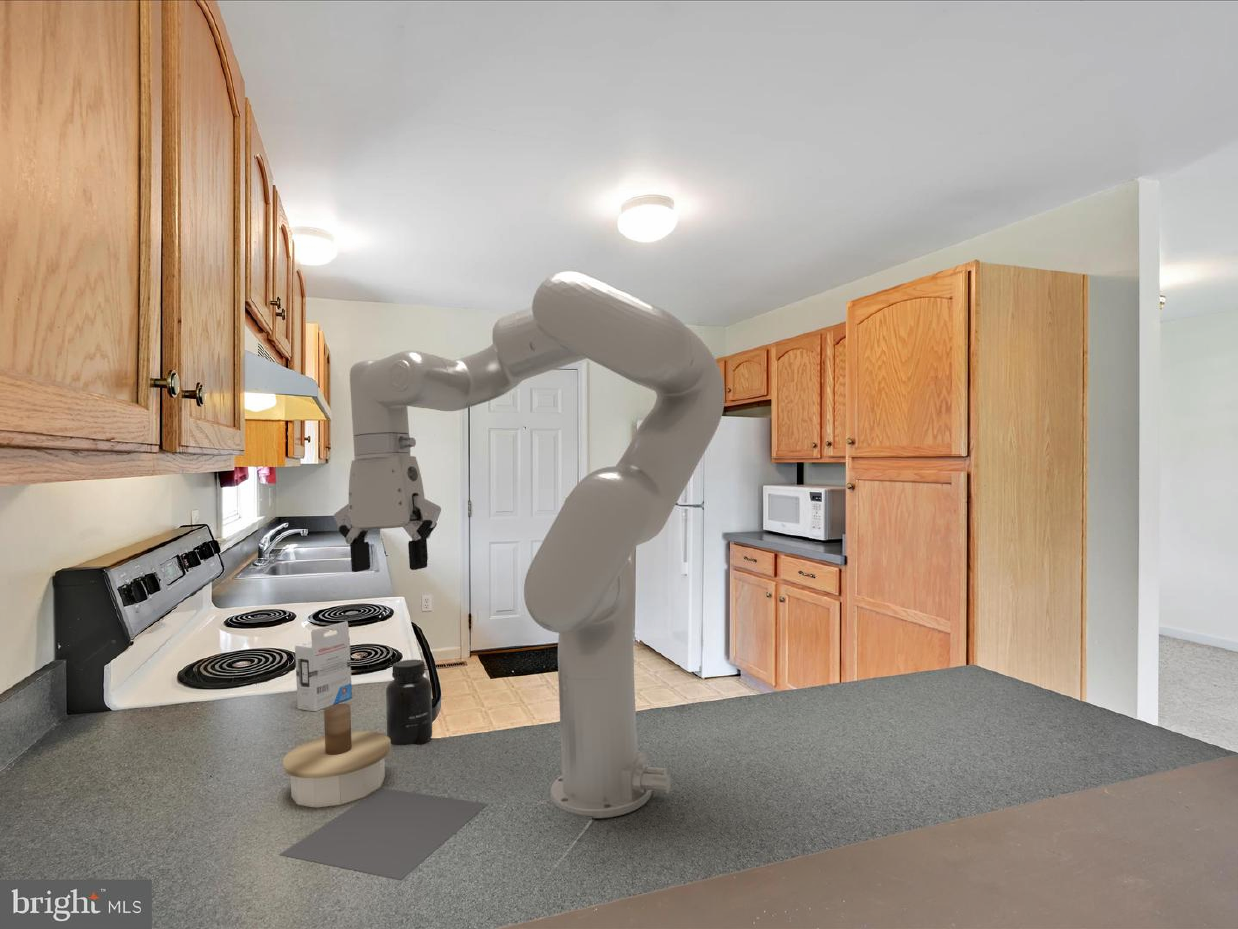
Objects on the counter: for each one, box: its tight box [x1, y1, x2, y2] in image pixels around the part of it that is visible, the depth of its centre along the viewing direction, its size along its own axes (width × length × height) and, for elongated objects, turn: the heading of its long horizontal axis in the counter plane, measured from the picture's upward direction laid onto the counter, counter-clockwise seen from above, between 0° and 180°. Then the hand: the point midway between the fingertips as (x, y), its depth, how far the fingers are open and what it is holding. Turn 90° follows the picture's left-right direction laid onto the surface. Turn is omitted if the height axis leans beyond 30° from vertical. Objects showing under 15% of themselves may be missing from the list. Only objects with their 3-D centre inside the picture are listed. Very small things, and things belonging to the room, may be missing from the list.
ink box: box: [294, 620, 353, 712], centre depth 124 cm, size 8×5×15 cm, turn 152°
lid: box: [283, 703, 392, 778], centre depth 88 cm, size 13×13×6 cm
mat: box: [278, 787, 489, 881], centre depth 76 cm, size 16×16×1 cm
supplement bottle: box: [385, 659, 433, 746], centre depth 104 cm, size 7×7×12 cm
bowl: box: [290, 757, 386, 808], centre depth 88 cm, size 11×11×4 cm
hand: (389, 569), depth 94 cm, fingers open, 9 cm apart
